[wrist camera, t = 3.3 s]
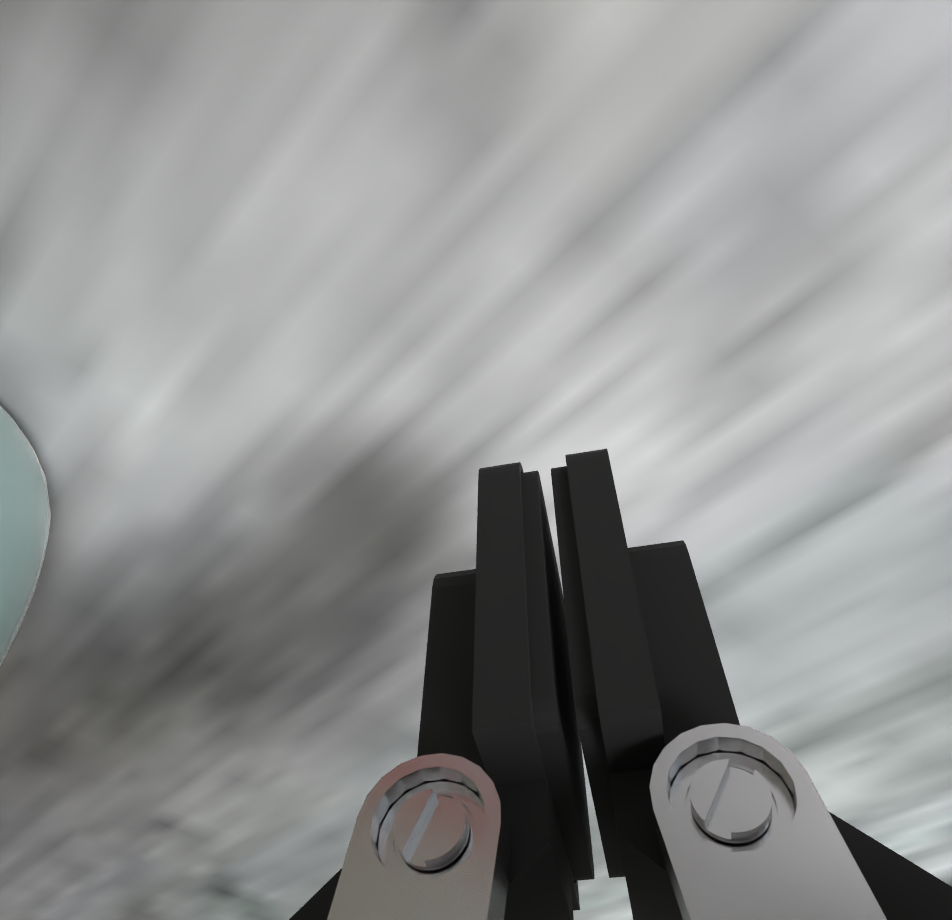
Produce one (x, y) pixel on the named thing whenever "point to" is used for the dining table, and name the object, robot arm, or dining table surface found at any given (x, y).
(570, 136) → the dining table surface
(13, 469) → the cup
